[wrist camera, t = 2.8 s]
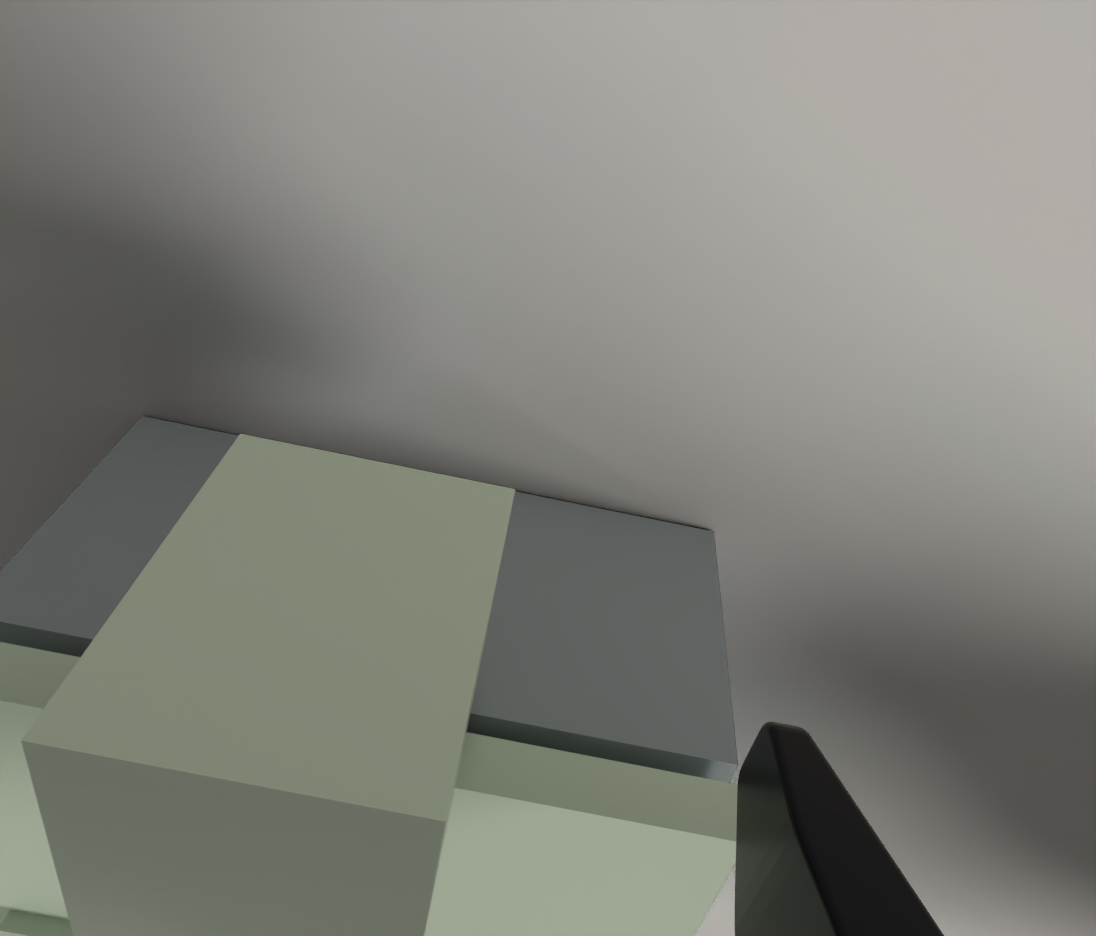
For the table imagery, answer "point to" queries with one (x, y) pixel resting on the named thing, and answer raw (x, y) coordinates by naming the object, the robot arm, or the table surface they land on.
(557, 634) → the tub
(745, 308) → the table surface
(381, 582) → the lid
